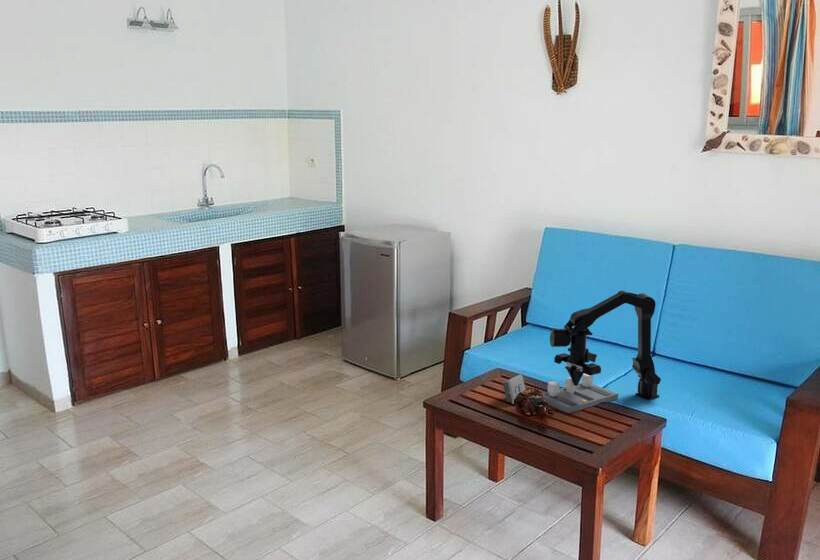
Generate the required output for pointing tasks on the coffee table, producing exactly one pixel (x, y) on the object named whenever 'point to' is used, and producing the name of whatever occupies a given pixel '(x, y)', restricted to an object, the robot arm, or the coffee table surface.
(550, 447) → the coffee table surface
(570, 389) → the breaker handle
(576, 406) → the breaker panel
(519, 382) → the electrical switch
